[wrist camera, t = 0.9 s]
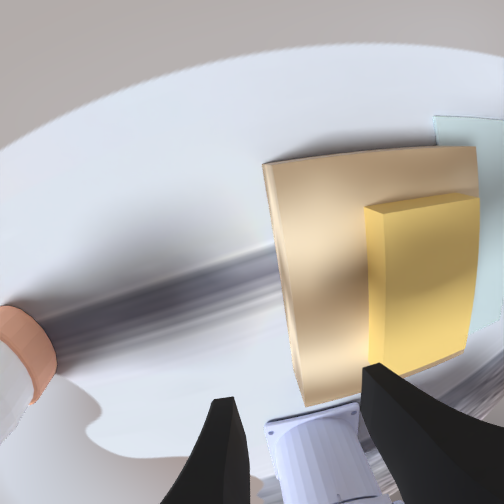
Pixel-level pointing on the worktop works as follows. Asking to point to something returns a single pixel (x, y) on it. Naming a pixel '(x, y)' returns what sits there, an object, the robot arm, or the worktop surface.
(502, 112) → the worktop surface
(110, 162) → the worktop surface
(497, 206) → the mat
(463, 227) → the yellow rectangular block
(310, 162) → the tan flat block
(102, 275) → the worktop surface
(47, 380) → the salt shaker
